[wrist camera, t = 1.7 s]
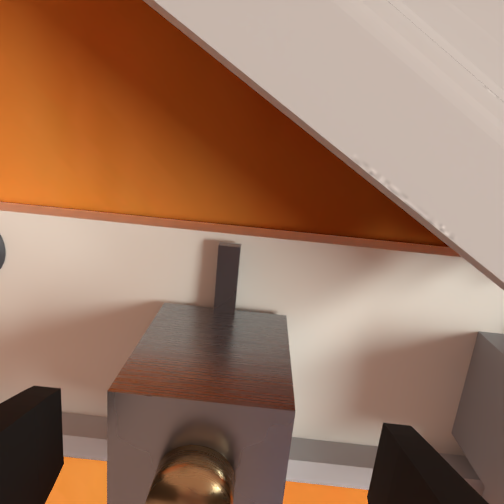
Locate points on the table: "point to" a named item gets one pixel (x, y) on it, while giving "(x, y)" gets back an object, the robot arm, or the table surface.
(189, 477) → the grey slider block
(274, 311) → the board
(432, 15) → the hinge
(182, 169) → the table surface
